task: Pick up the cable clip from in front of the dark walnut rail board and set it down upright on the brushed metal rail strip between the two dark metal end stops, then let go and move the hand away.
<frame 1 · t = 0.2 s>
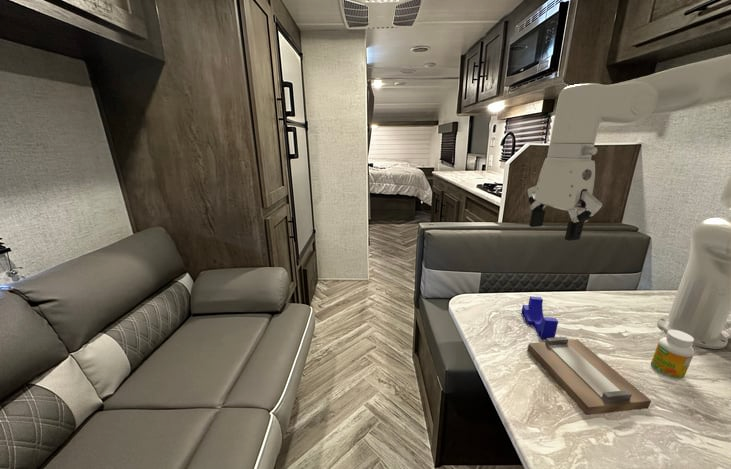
hand: (552, 232, 64), 30 cm above the table, tool pointing down, fingers open, 9 cm apart
rail board: (580, 375, 64), on the table
supplement bottle: (666, 372, 65), on the table
cable clip: (536, 326, 82), on the table
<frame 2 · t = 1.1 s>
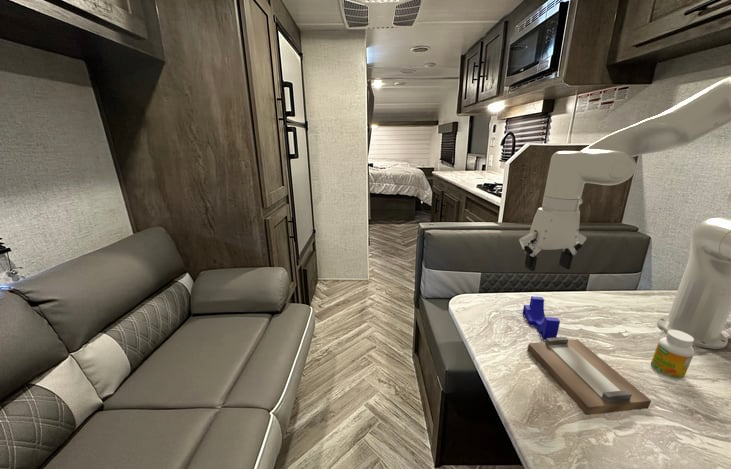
hand: (546, 268, 76), 18 cm above the table, tool pointing down, fingers open, 9 cm apart
nothing on the table moved.
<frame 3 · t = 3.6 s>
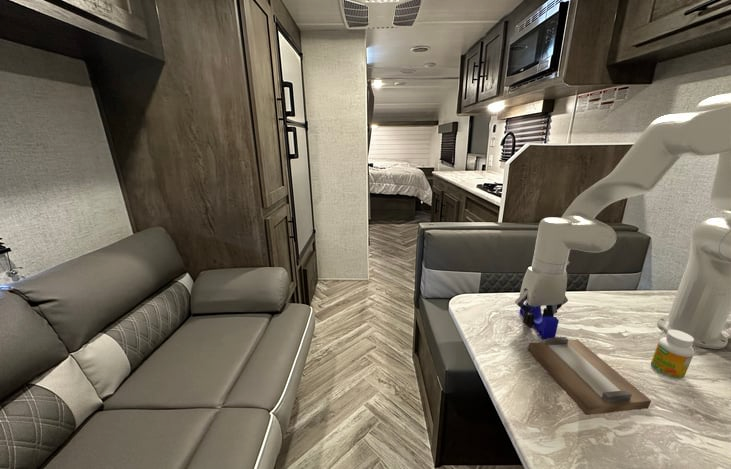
hand: (537, 323, 81), 1 cm above the table, tool pointing down, fingers closed on cable clip, 4 cm apart
cable clip: (535, 326, 82), on the table, touching gripper
everything else where it was.
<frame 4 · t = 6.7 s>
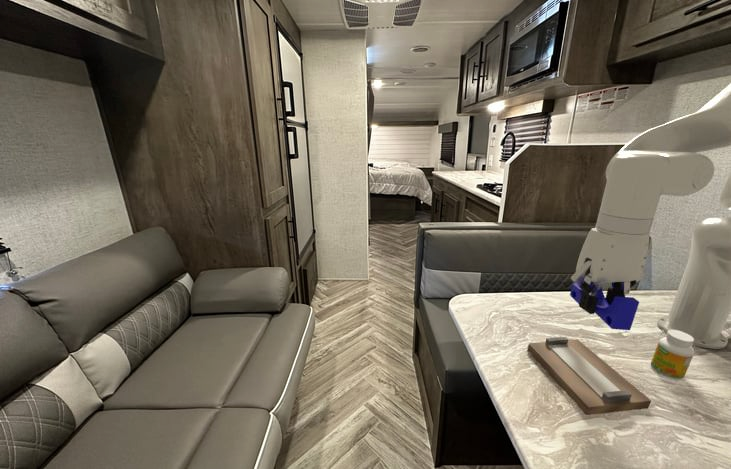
hand: (599, 308, 59), 17 cm above the table, tool pointing down, fingers closed on cable clip, 4 cm apart
cable clip: (596, 311, 59), point 16 cm above the table, touching gripper
everything else where it was.
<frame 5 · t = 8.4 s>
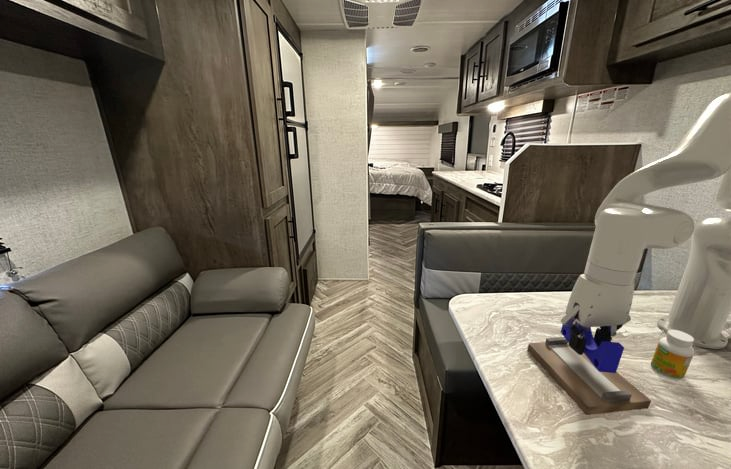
hand: (587, 348, 62), 7 cm above the table, tool pointing down, fingers closed on cable clip, 4 cm apart
cable clip: (585, 351, 62), point 7 cm above the table, touching gripper
everything else where it was.
when the fingers open (4 cm above the table, at t = 9.8 s): cable clip drops 1 cm, resting on rail board.
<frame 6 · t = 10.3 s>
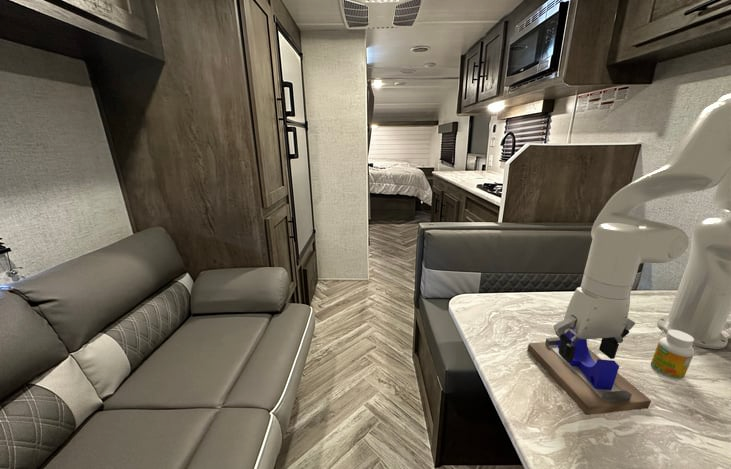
hand: (585, 356, 63), 5 cm above the table, tool pointing down, fingers open, 9 cm apart
cable clip: (581, 367, 64), point 2 cm above the table, touching rail board
everything else where it was.
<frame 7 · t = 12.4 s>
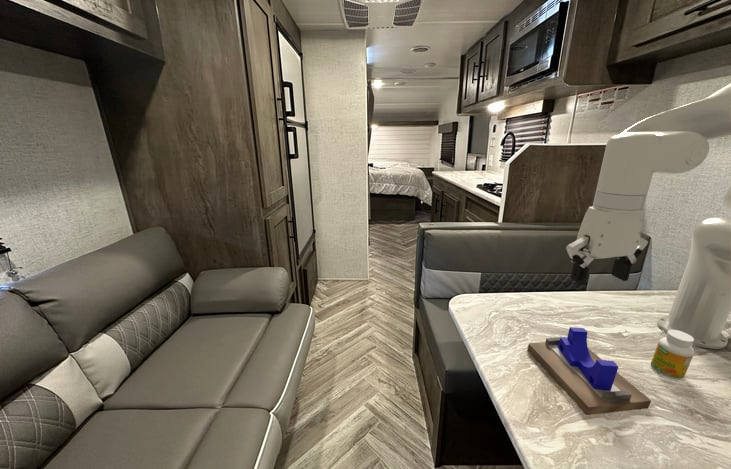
hand: (598, 280, 62), 21 cm above the table, tool pointing down, fingers open, 9 cm apart
nothing on the table moved.
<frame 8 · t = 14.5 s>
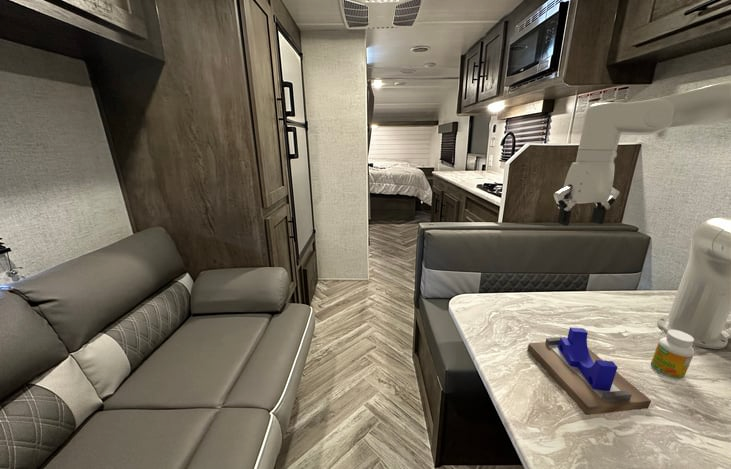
hand: (579, 223, 77), 28 cm above the table, tool pointing down, fingers open, 9 cm apart
nothing on the table moved.
at the end: cable clip 0.3 cm off-centre on the rail board, point 2.1 cm above the rail board's base; cable clip tilted 0°; the gripper is holding nothing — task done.
